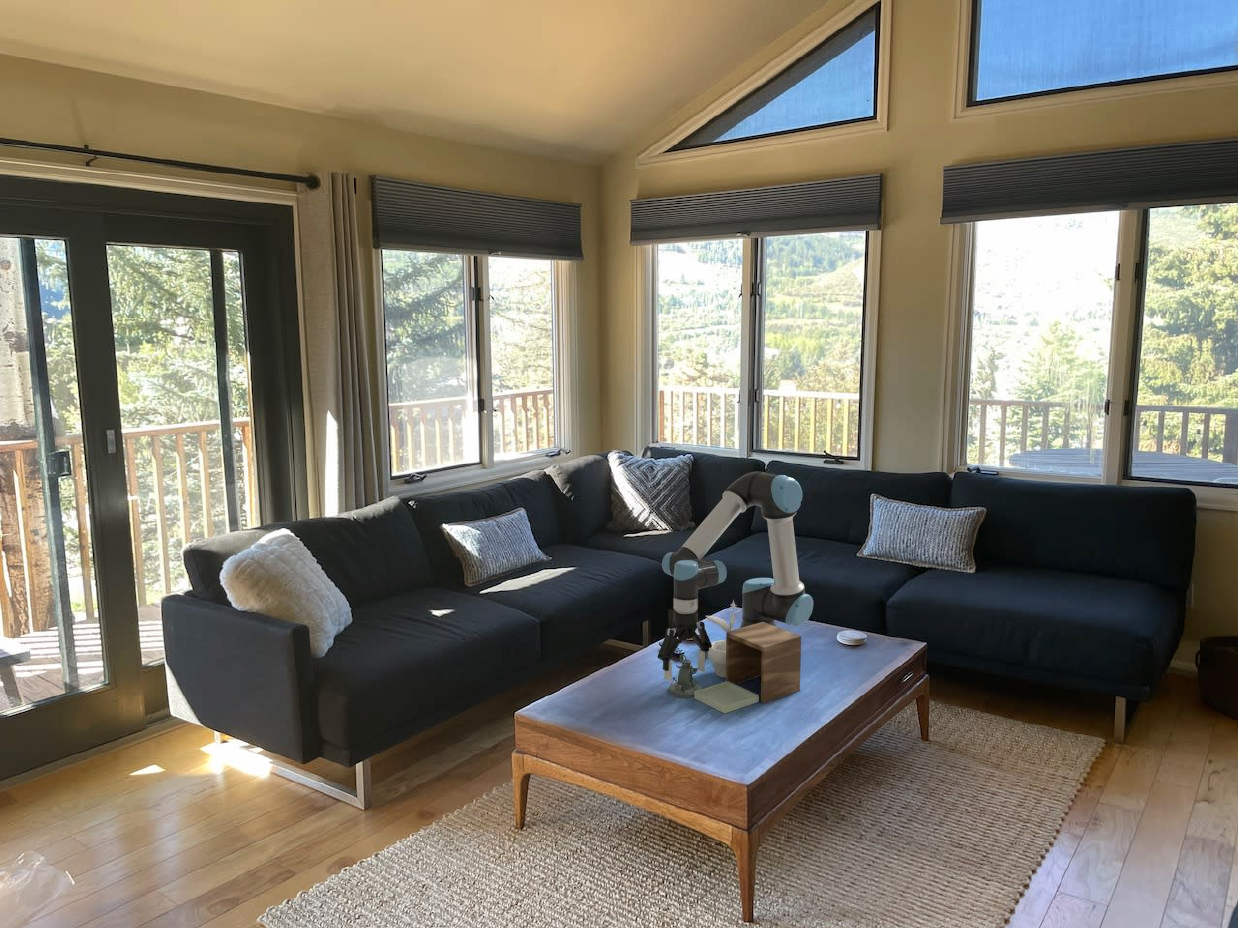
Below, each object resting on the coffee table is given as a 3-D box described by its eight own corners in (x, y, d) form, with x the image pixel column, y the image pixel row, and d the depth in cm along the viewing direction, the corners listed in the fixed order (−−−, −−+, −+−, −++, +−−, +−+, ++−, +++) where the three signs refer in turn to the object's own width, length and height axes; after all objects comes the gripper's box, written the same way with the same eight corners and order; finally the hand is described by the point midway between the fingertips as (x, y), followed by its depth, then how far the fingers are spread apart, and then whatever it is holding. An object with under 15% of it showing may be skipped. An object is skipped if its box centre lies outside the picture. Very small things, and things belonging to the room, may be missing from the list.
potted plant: (747, 670, 319) (748, 598, 315) (736, 683, 309) (737, 609, 304) (711, 664, 324) (712, 594, 320) (699, 677, 314) (700, 604, 310)
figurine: (705, 686, 306) (706, 651, 304) (697, 700, 296) (697, 663, 294) (674, 682, 310) (674, 647, 308) (664, 695, 300) (664, 659, 298)
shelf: (725, 685, 307) (726, 631, 304) (762, 673, 316) (762, 621, 313) (763, 703, 293) (764, 647, 290) (799, 690, 303) (801, 636, 300)
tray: (694, 698, 297) (694, 691, 297) (727, 687, 306) (727, 680, 305) (724, 713, 286) (724, 706, 286) (758, 701, 294) (758, 695, 294)
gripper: (661, 620, 288) (661, 687, 292) (723, 606, 303) (722, 669, 306) (646, 614, 294) (646, 680, 298) (708, 600, 309) (707, 662, 312)
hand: (684, 675), depth 302 cm, fingers open, 13 cm apart
